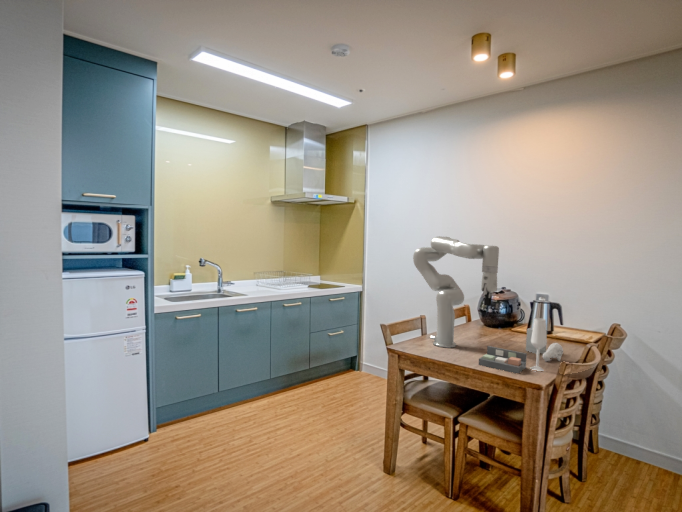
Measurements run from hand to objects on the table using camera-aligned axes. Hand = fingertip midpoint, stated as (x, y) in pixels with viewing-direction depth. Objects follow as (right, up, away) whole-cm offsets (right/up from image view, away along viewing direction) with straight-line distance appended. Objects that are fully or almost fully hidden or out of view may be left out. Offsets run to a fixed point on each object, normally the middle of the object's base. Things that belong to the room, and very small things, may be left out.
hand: (487, 305), depth 206 cm
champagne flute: (+17, -28, -18) cm, 37 cm away
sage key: (-4, -26, -12) cm, 29 cm away
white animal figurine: (+32, -28, -2) cm, 42 cm away
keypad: (+2, -28, -15) cm, 31 cm away
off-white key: (+1, -26, -16) cm, 30 cm away
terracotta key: (+5, -25, -20) cm, 32 cm away
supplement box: (+31, -27, +13) cm, 43 cm away
